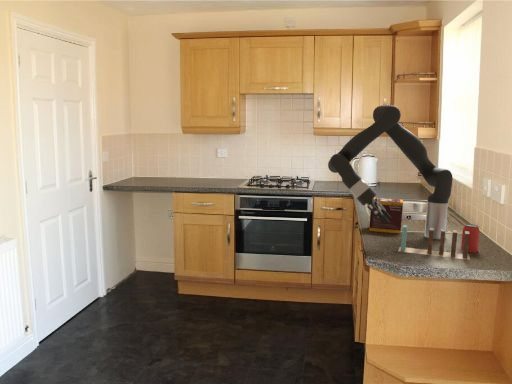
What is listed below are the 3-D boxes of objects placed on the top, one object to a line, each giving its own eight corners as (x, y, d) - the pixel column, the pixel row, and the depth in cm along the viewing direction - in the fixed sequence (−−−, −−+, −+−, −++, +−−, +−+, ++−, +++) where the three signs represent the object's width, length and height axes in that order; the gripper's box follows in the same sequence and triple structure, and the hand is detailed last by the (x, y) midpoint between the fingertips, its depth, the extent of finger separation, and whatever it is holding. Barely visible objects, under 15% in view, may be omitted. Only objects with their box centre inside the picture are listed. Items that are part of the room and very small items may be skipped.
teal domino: (400, 250, 206) (402, 227, 205) (401, 247, 211) (403, 224, 209) (404, 251, 206) (406, 227, 204) (405, 248, 210) (407, 225, 209)
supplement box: (400, 233, 243) (403, 202, 241) (368, 230, 247) (371, 200, 245) (400, 229, 253) (403, 199, 251) (370, 226, 257) (372, 197, 255)
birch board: (397, 253, 205) (398, 251, 205) (399, 249, 213) (399, 246, 213) (469, 262, 196) (469, 259, 196) (468, 257, 203) (469, 254, 203)
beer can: (469, 255, 207) (472, 227, 205) (457, 251, 213) (459, 224, 211) (480, 254, 210) (483, 226, 208) (468, 250, 215) (471, 223, 214)
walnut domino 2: (438, 255, 201) (441, 231, 200) (439, 252, 206) (441, 228, 204) (443, 255, 201) (445, 231, 199) (443, 252, 205) (445, 229, 204)
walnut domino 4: (462, 258, 198) (465, 233, 196) (462, 254, 203) (464, 231, 201) (467, 258, 197) (469, 234, 196) (466, 255, 202) (469, 231, 201)
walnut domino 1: (427, 253, 203) (429, 229, 201) (427, 250, 207) (429, 227, 206) (431, 254, 202) (433, 230, 201) (431, 251, 207) (433, 227, 205)
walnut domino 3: (450, 256, 200) (453, 232, 198) (450, 253, 204) (452, 229, 203) (455, 257, 199) (457, 232, 197) (454, 254, 204) (457, 230, 202)
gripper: (366, 188, 204) (393, 218, 201) (371, 184, 217) (396, 212, 214) (353, 200, 206) (379, 229, 204) (358, 195, 219) (383, 223, 217)
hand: (388, 221), depth 209 cm, fingers open, 8 cm apart
